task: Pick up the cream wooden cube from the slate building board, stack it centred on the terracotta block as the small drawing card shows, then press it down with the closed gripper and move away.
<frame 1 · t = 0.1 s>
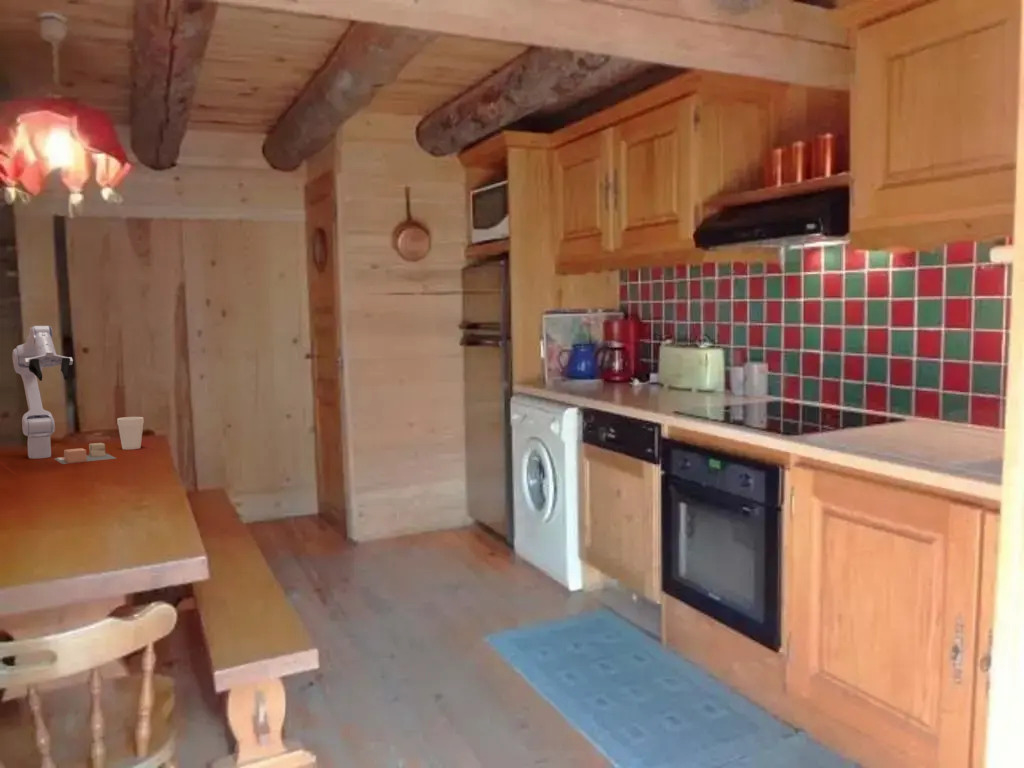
hand: (53, 378, 274), 32 cm above the table, tool tilted 50°, fingers open, 7 cm apart
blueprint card: (69, 458, 294), resting on build board
foam cup: (131, 451, 318), on the table
terracotta block: (75, 460, 289), point 1 cm above the table, touching build board
cream cube: (97, 455, 300), point 1 cm above the table, touching build board
build board: (85, 461, 294), on the table
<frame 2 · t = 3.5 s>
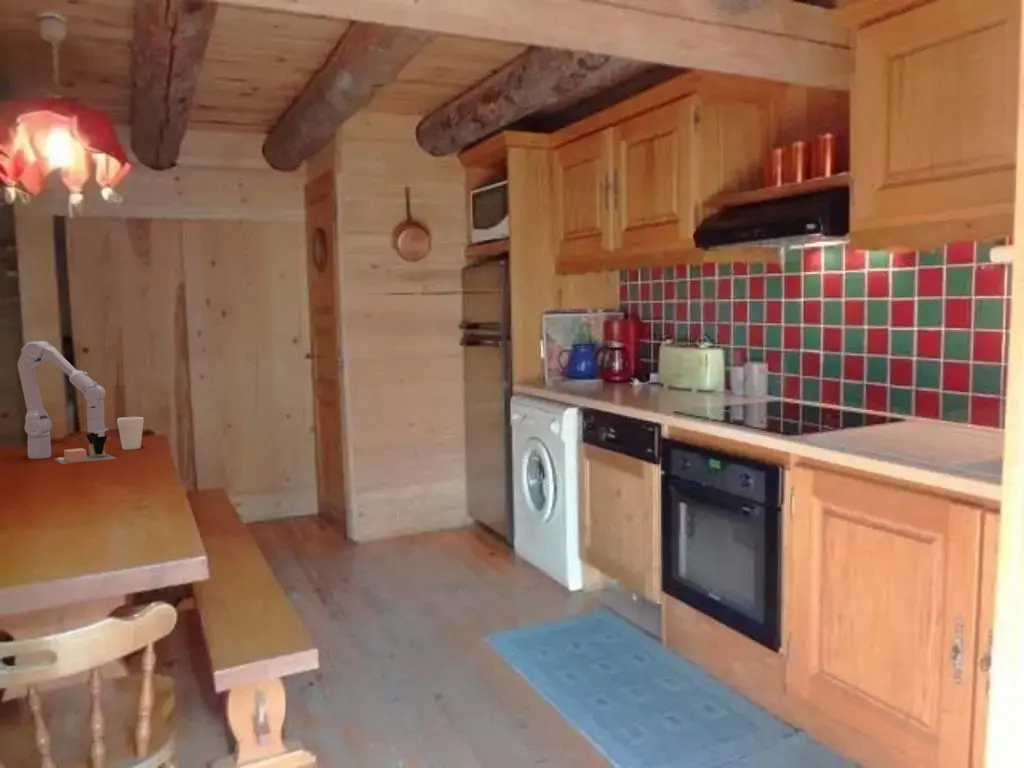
hand: (97, 453, 300), 2 cm above the table, tool pointing down, fingers closed on cream cube, 4 cm apart
cream cube: (97, 455, 300), point 1 cm above the table, touching build board, gripper
everything else where it was.
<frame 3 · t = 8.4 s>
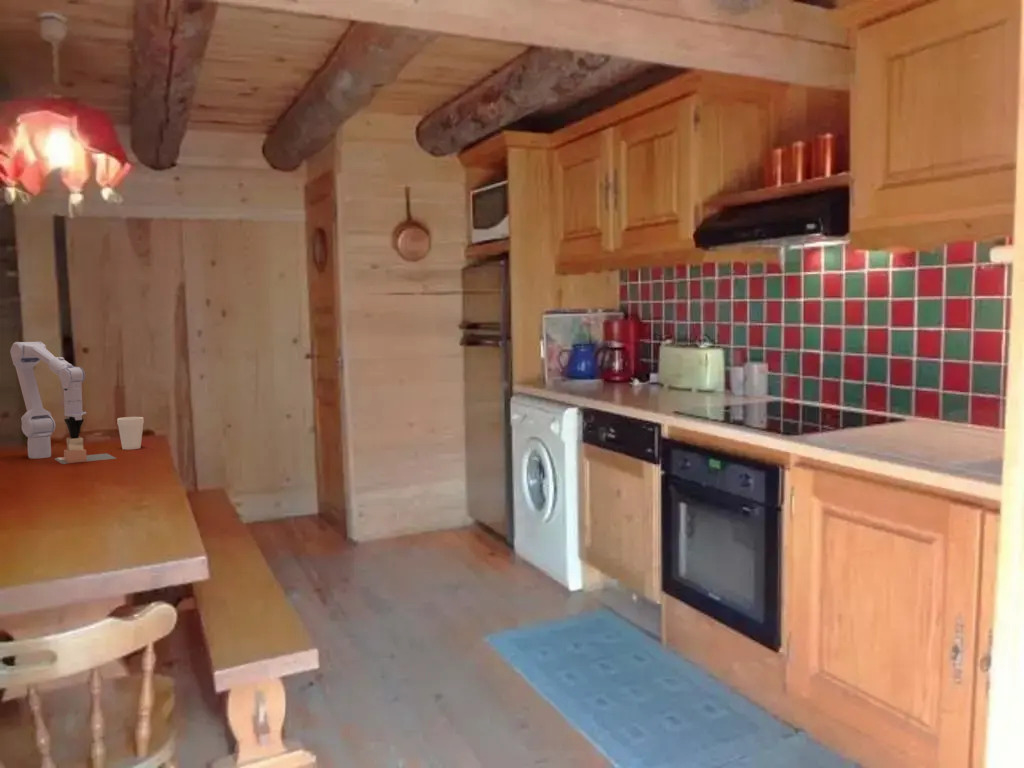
hand: (74, 438, 288), 9 cm above the table, tool pointing down, fingers closed, pressing on cream cube
terracotta block: (75, 460, 289), point 1 cm above the table, touching build board, cream cube
cream cube: (75, 450, 289), point 5 cm above the table, touching gripper, terracotta block
everything else where it was.
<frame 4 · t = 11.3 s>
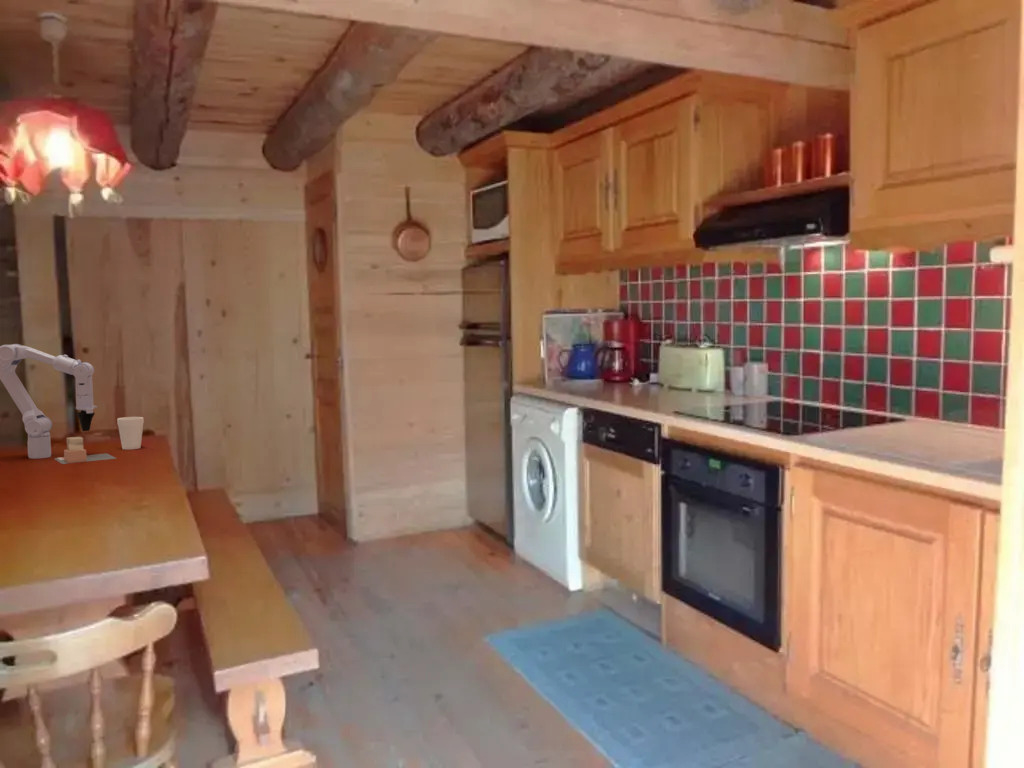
hand: (85, 430, 300), 10 cm above the table, tool pointing down, fingers closed
cream cube: (75, 450, 289), point 5 cm above the table, touching terracotta block
everything else where it was.
at the end: cream cube 0.0 cm off-centre on the terracotta block, point 4.0 cm above the terracotta block's base; cream cube tilted 0°; terracotta block moved 0.0 cm from its start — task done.
